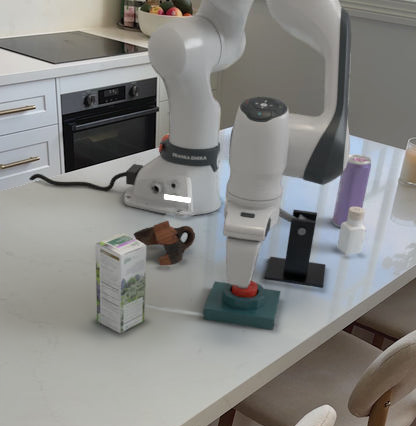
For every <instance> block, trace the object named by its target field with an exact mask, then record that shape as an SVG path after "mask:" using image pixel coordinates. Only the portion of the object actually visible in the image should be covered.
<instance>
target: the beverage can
mask: <svg viewBox="0 0 416 426" xmlns="http://www.w3.org/2000/svg"><path fill="white" fill-rule="evenodd" d="M371 168H372V159H371V158H370V157H368V156H365V155H361V154H349V159H348V163H347V166H346V168H345V170H344V172H343V174H342V175H340V176H339V183H338V188H337V194H336V199H335V205H334V210H333V216H332V222H333V224H334V226H335V227H338V228H340V229H341V224H342V223H343V222H346V221H347V219H348V212H349V208H350V207H361V208H363V207H364V203H365V198H366V197H365V196H366V192H367V187H368V183H369V178H370V173H371Z"/></svg>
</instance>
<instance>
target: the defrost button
mask: <svg viewBox="0 0 416 426" xmlns="http://www.w3.org/2000/svg"><path fill="white" fill-rule="evenodd" d="M256 283H257V282H255V281H253V280H251V281H250V284H249V286H248V288H247V289H242V288H239V287H238V286H236V285H232V290H231V293H232V294H234V295H236V296H238V297H244V298H248V297H254V296H256V295H257V288H258V286H257V284H258V283H257V284H256Z"/></svg>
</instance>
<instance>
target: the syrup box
mask: <svg viewBox="0 0 416 426" xmlns="http://www.w3.org/2000/svg"><path fill="white" fill-rule="evenodd" d="M146 273H147V245H145V244H144V243H142V242H140V241H138V240H137V239H136V238H135V237H134V236H130V235H127V234H124V233H119V234H116V235H114V236H111V237H109V238H106V239H104V240H101V241H99V242H96V243H95V284H96V285H95V289H96V290H95V291H96V293H95V294H96V321H97V323H99V324H101V325H103V326H105V327H107V328H109V329H110V330H112V331H114V332H116V333H118V334H123V333H125V332H127V331H128V330H132V328H135V327H137V326H138V325H141V324H143V323H144V322H145V309H146V307H145V305H146V304H145V303H146V277H147V276H146V275H147V274H146Z"/></svg>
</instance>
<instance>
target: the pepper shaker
mask: <svg viewBox="0 0 416 426" xmlns="http://www.w3.org/2000/svg"><path fill="white" fill-rule="evenodd" d="M365 214H366V210H365V208H363V207H362V208H361V207H350V208H349V212H348V219H347V221H346V222H343V223H342V224H341V228H340V229H339V235H338V240H337V244H336V249H338V250H339V251H341V252H342V253H343V254H344V255H357V254H361V253H362V251H363V245H364V241H365V237H366V232H367V227H366V226H365V225H364V224H363V222H364V219H365V218H364V217H365Z"/></svg>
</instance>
